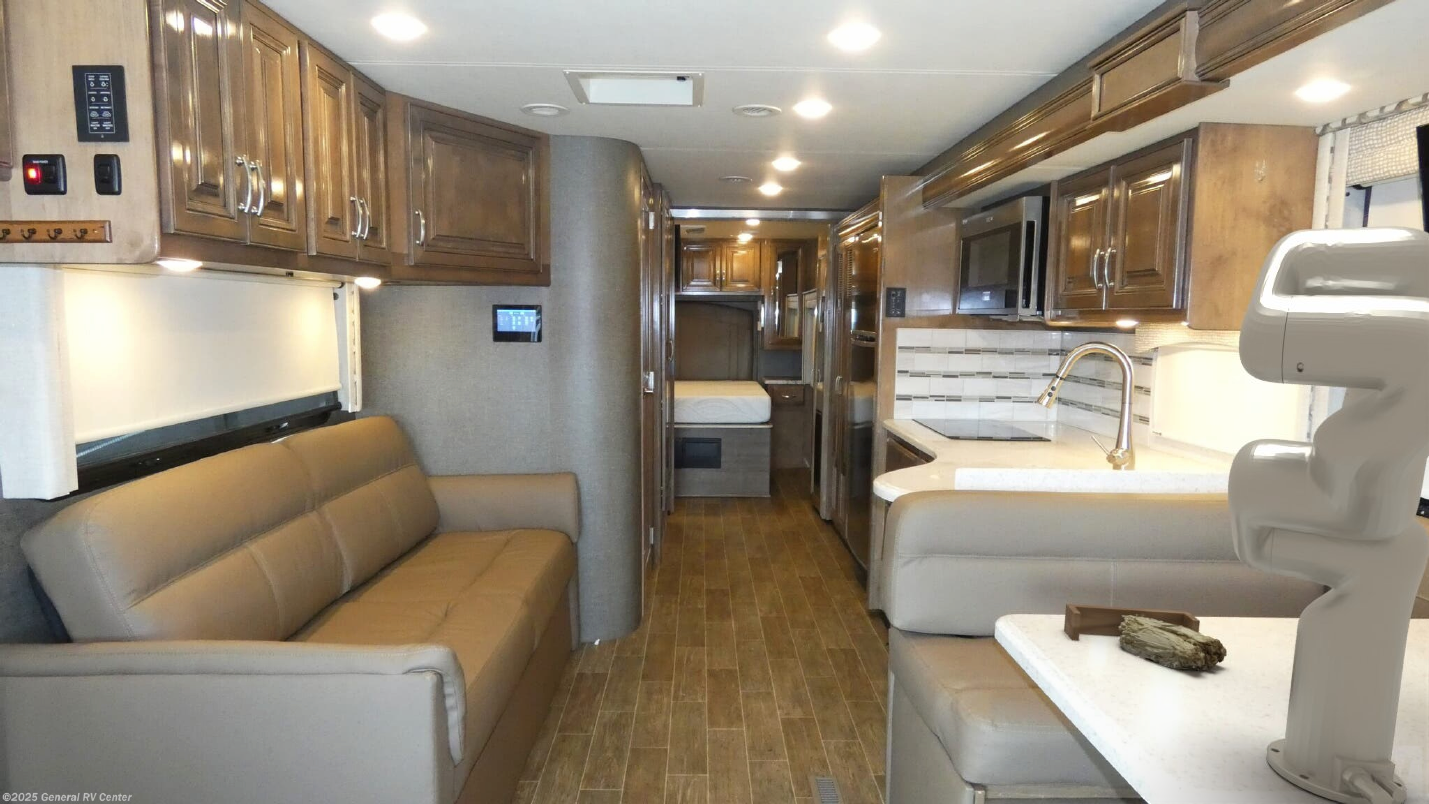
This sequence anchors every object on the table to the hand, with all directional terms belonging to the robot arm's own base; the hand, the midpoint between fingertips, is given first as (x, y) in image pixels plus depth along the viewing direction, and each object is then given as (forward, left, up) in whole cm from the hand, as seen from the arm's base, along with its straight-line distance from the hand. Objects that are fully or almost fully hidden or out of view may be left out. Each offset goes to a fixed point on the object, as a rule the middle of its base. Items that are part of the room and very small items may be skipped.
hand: (1369, 508), depth 108 cm
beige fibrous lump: (+11, +18, -28) cm, 35 cm away
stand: (+18, +22, -27) cm, 39 cm away
